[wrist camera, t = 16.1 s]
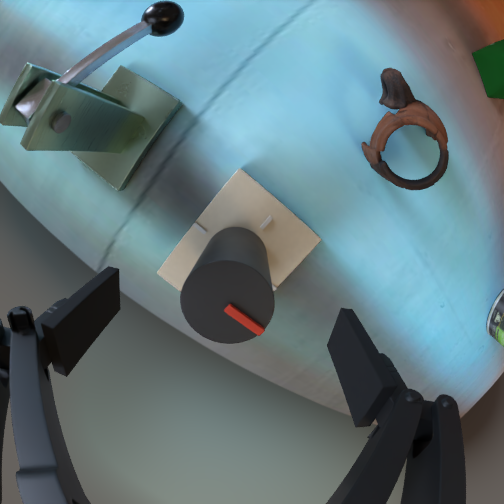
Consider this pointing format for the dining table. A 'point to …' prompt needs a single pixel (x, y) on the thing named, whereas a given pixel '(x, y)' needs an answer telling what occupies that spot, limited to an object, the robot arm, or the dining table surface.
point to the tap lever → (109, 51)
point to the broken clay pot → (408, 114)
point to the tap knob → (229, 288)
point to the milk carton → (492, 68)
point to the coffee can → (497, 319)
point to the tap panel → (252, 218)
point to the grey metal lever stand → (94, 120)
